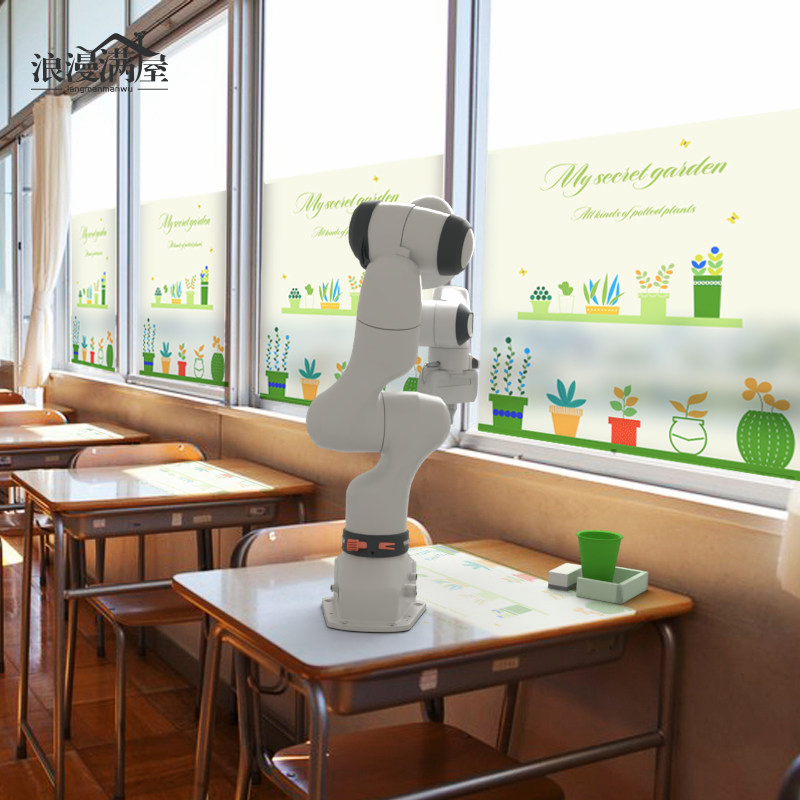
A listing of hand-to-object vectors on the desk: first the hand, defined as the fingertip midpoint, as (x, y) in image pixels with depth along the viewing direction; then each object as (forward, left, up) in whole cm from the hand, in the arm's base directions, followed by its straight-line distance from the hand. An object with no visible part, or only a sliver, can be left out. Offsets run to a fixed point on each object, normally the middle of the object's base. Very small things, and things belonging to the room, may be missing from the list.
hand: (446, 424), depth 227 cm
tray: (-25, -33, -29) cm, 51 cm away
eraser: (-20, -25, -29) cm, 43 cm away
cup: (-23, -30, -29) cm, 48 cm away
